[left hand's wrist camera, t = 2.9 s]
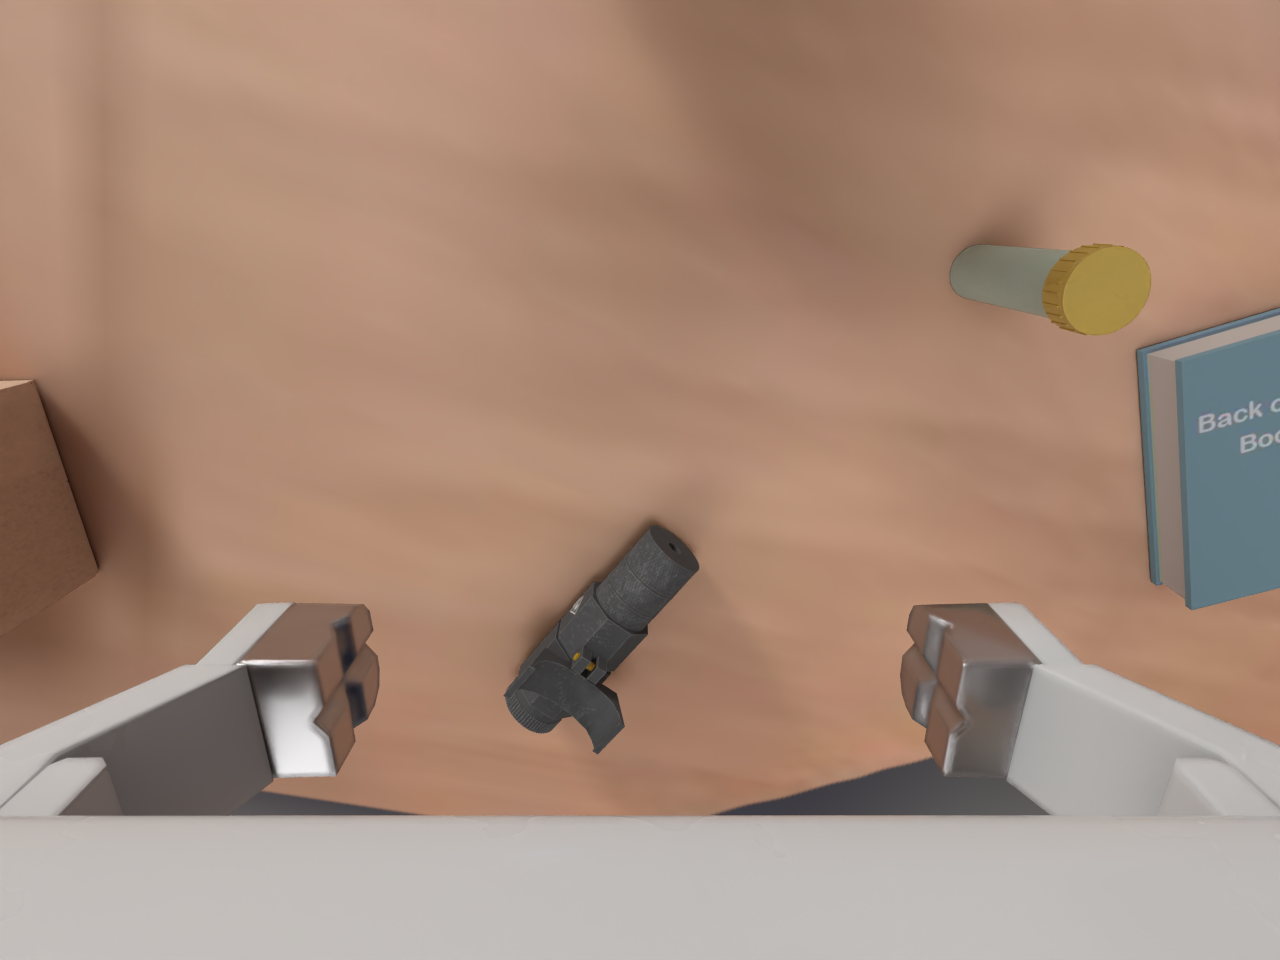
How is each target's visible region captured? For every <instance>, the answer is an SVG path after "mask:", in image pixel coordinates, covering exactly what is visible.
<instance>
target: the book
mask: <svg viewBox="0 0 1280 960" xmlns="http://www.w3.org/2000/svg"><path fill="white" fill-rule="evenodd" d="M1137 361H1138V377H1139V393H1140V409H1141V425H1142V440H1143V456H1144V472H1145V488H1146V504H1147V520H1148V536H1149V552H1150V568H1151V582H1152V583H1154V584H1155V585H1161V584H1164V585H1166V586H1167V587H1168V588H1170V589H1171V590H1173V591H1174V592H1176V593H1177V594H1179V595H1180V596H1181V597H1183V598H1184V599H1185V603H1186V607H1188V608H1189V609H1191V610H1194V609H1198V608H1202V607H1206V606H1210V605H1214V604H1218V603H1222V602H1226V601H1230V600H1234V599H1238V598H1242V597H1246V596H1249V595H1253V594H1257V593H1261V592H1265V591H1269V590H1273V589H1277V588H1280V308H1278V309H1275V310H1271V311H1268V312H1264V313H1261V314H1258V315H1254V316H1251V317H1247V318H1244V319H1241V320H1237V321H1234V322H1231V323H1227V324H1224V325H1220V326H1217V327H1214V328H1210V329H1207V330H1203V331H1200V332H1197V333H1193V334H1190V335H1186V336H1183V337H1180V338H1176V339H1173V340H1169V341H1166V342H1163V343H1159V344H1156V345H1153V346H1149V347H1146V348H1142V349H1139V350H1137Z"/></svg>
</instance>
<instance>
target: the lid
mask: <svg viewBox="0 0 1280 960" xmlns="http://www.w3.org/2000/svg"><path fill="white" fill-rule="evenodd" d="M1150 288H1151V273H1150V269H1149V267H1148V264H1147V262H1146V261H1145V259H1144V258H1143V257H1142V256H1141V255H1140V254H1139V253H1137V252H1136V251H1134V250H1132V249H1130V248H1126V247H1124V246H1113V245H1111V244H1093V245H1089V246H1085V245H1082V246H1081V247H1080V248H1077V249H1074V250H1071V251H1070V252H1069V253H1067V254H1066V255H1064V256H1063V257H1062V258H1060V259H1059V261H1058V262H1057V263H1056V264H1055V265H1054V266H1053V267H1052V268H1051V269H1050V272H1049V273H1048V275H1047V278H1046V279H1045V283H1044V286H1043V291H1042V302H1043V303H1042V304H1043V307H1044V310H1045V312H1046V313H1045V314H1046V315H1047V316H1048V317H1049V319H1050V320H1051V322H1052V323H1055V324H1056V325H1058V326H1060V328H1061V329H1065V330H1069V331H1072V332H1075V333H1079V334H1083V335H1087V334H1089V335H1105V334H1109V333H1112V332H1115V331H1117V330H1119V329H1121V328H1123V327H1124V326H1126V325H1127V324H1128V323H1130V322H1131V321H1132V320H1133V319H1134V318H1135V317H1136V316H1137V315H1138V314H1139V312H1140V311H1141V310H1142V308H1143V307H1144V305H1145V303H1146V301H1147V298H1148V296H1149V292H1150Z"/></svg>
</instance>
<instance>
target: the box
mask: <svg viewBox="0 0 1280 960" xmlns="http://www.w3.org/2000/svg"><path fill="white" fill-rule="evenodd" d="M66 481H68V479H67V476H66V473H65V470H64V467H63V464H62V462H61V459H60V456H59V453H58V450H57V447H56V444H55V441H54V438H53V435H52V432H51V429H50V426H49V423H48V420H47V417H46V414H45V411H44V408H43V406H42V403H41V400H40V397H39V394H38V391H37V388H36V385H35V382H34V380H17V381H0V637H2V636H3V635H5V634H6V633H8V632H10V631H11V630H13V629H14V628H16V627H17V626H19V625H20V624H22V623H23V622H25V621H26V620H28V619H30V618H31V617H33V616H34V615H36V614H37V613H39V612H40V611H42V610H43V609H45V608H46V607H48V606H49V605H51V604H53V603H54V602H56V601H57V600H59V599H60V598H62V597H63V596H65V595H66V594H68V593H69V592H71V591H73V590H74V589H76V588H77V587H79V586H80V585H82V584H83V583H85V582H86V581H88V580H89V579H91V578H93V577H94V576H95V575H96V573H98V572H99V571H98V568H97V565H96V562H95V559H94V556H93V553H92V550H91V547H90V544H89V541H88V538H87V535H86V532H85V529H84V526H83V523H82V520H81V518H80V515H79V512H78V509H77V506H76V503H75V500H74V497H73V494H72V491H71V488H70V485H69V482H66Z"/></svg>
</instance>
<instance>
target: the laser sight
mask: <svg viewBox="0 0 1280 960" xmlns="http://www.w3.org/2000/svg"><path fill="white" fill-rule="evenodd" d="M698 570H699V564H698V561H697V559H696V558H695V556H694V555H693V553H692V552H691V551H690V549H689V548H688V547H687V546H686V545H685V544H684V543H683V542H682V541H681V540H680V539H678V538H677V537H676V536H675V535H673V534H672V533H670V532H669V531H667V530H666V529H664V528H662V527H659V526H655V525H653V526H651V527H650V528H649V529H648V530H647V531H646V533H645V534H644V535H643V536H642V537H641V538H640V540H639V541H638V542H637V543H636V544H635V545H634V546H633V547H632V548H631V550H630V551H629V552H628V553H627V554H626V555H625V556H624V558H623V559H622V560H621V561H620V562H619V563H618V565H617V566H616V567H615V568H614V569H613V570H612V571H611V572H610V573H609V575H608V576H607V577H606V578H605V579H604V581H603V582H593V583H592V585H591V586H590V587H589V588H588V589H587V590H586V591H585V593H584V594H583V595H582V596H581V597H580V598H579V599H578V601H577V602H576V603H575V604H574V605H573V606H572V608H571V609H570V610H569V611H568V612H567V613H566V614H565V616H564V617H563V618H562V619H561V620H560V621H559V622H558V624H557V625H556V626H555V627H554V628H553V629H552V630H551V632H550V633H549V634H548V635H547V636H546V637H545V638H544V640H543V641H542V642H541V643H540V644H539V645H538V647H537V648H536V649H535V650H534V651H533V652H532V653H531V655H530V656H529V657H528V658H527V659H526V660H525V661H524V663H523V664H522V665H521V668H520V672H519V675H518V677H517V678H516V679H515V680H514V681H513V682H512V683H511V684H510V686H509V687H508V688H507V691H506V693H505V694H504V696H505V697H506V698H505V699H506V704H507V707H508V709H509V710H510V712H511V715H513V717H514V718H515V720H517V722H519V723H520V724H521V725H522V726H523V727H525V728H527V729H528V730H530V731H533V732H536V733H541V734H542V733H547V732H550V731H551V730H552V729H553V728H554V727H555V726H556V725H557V724H558V723H559V722H560V721H561V719H562V718H566V717H571V716H573V717H574V718H575V719H576V720H577V721H578V722H579V723H580V724H581V725H582V726H583V727H584V728H585V729H586V730H587V732H588V734H589V736H590V738H591V740H592V743H593V746H594V749H593V752H595V753H596V754H598V753H599V752H600V751H601V750H602V749H603V748H604V747H605V746H606V745H607V744H608V743H609V742H610V741H611V740H612V739H613V738H614V737H615V736H616V735H617V734H618V733H619V732H620V731H621V730H622V729H623V728H624V727H625V726H624V722H623V718H622V713H621V709H620V705H619V701H618V697H617V693H615V692H614V691H612V690H611V689H609V688H607V687H606V686H604V685H603V684H602V683H603V682H604V681H605V680H606V679H607V678H608V677H609V675H610V674H611V671H614V670H615V669H616V668H617V667H618V666H619V665H620V664H621V663H622V661H623V660H624V659H625V658H626V657H627V656H628V655H629V654H630V653H631V652H632V651H633V650H634V649H635V648H636V646H637V645H638V644H639V643H640V642H641V641H642V640H643V639H644V638H645V637H646V636H647V635H648V624H649V622H650V621H651V620H652V619H653V618H654V617H655V616H656V615H657V614H658V613H659V612H660V611H661V610H662V608H663V607H664V606H665V605H666V604H667V603H668V602H669V601H670V600H671V599H672V598H673V597H674V596H675V595H676V594H677V592H678V591H679V590H680V589H681V588H682V587H683V586H684V585H685V584H686V582H687V581H688V580H689V579H690V578H691V577H692V576H693V575H694V574H695V573H696V572H697V571H698Z"/></svg>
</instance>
